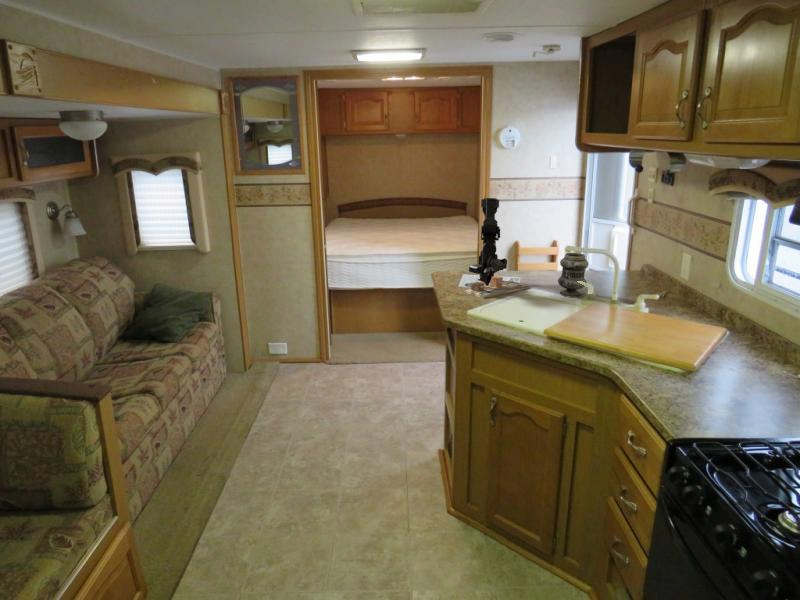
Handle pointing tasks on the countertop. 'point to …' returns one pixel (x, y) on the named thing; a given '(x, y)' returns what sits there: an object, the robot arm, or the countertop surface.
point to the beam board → (498, 289)
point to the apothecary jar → (572, 274)
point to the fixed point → (478, 286)
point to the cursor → (497, 281)
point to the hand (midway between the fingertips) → (487, 285)
